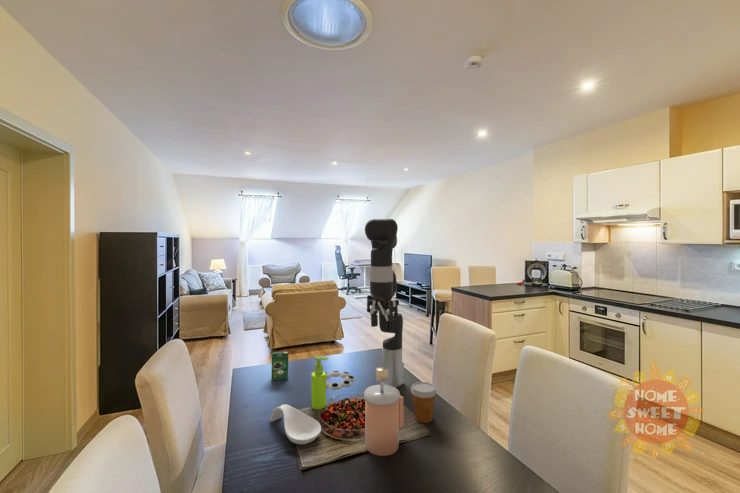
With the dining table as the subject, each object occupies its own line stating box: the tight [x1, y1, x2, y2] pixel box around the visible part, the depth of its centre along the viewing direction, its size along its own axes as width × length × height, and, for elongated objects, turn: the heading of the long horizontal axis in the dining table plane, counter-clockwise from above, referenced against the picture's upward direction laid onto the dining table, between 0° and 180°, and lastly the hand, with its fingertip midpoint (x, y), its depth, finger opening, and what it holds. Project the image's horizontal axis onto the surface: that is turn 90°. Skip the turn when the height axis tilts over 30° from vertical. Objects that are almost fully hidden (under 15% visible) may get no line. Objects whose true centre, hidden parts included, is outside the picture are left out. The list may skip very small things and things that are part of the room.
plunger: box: [375, 366, 388, 393], centre depth 103 cm, size 4×4×7 cm
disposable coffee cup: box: [410, 381, 437, 424], centre depth 118 cm, size 10×10×12 cm
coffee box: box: [271, 351, 289, 382], centre depth 153 cm, size 8×3×13 cm, turn 103°
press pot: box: [363, 384, 405, 457], centre depth 103 cm, size 14×12×17 cm
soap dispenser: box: [310, 355, 329, 410], centre depth 128 cm, size 6×7×20 cm
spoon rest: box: [269, 404, 322, 445], centre depth 110 cm, size 24×12×7 cm, turn 49°
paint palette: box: [325, 370, 356, 390], centre depth 151 cm, size 20×20×2 cm
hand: (381, 329), depth 103 cm, fingers open, 8 cm apart
